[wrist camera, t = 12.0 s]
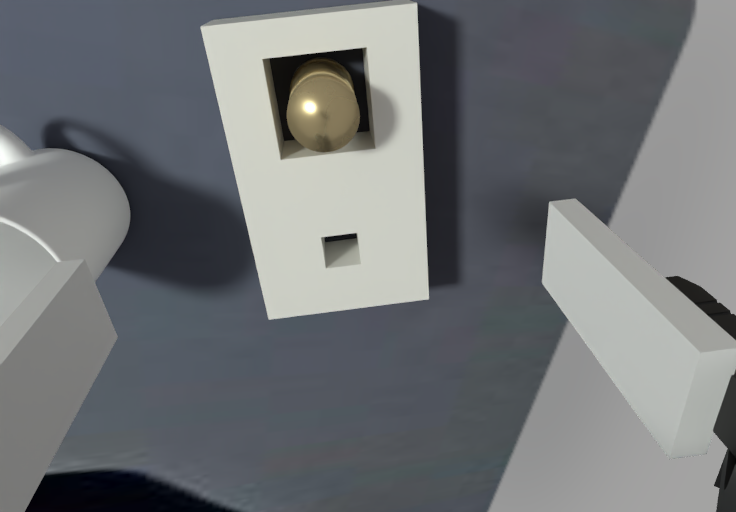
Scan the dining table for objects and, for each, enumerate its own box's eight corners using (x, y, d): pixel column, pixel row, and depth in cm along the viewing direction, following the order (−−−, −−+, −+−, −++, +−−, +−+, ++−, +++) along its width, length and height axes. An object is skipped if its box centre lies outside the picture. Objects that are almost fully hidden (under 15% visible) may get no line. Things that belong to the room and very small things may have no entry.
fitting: (356, 118, 35) (365, 149, 29) (295, 125, 35) (291, 158, 29) (350, 53, 33) (357, 73, 27) (285, 60, 33) (278, 81, 27)
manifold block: (419, 271, 42) (428, 299, 38) (272, 290, 42) (268, 319, 38) (406, -2, 32) (416, 3, 29) (213, 20, 32) (200, 26, 28)
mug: (65, 77, 33) (-34, 121, 23) (155, 237, 38) (104, 324, 29) (-59, 116, 33) (-205, 176, 24) (49, 269, 39) (-34, 364, 30)
